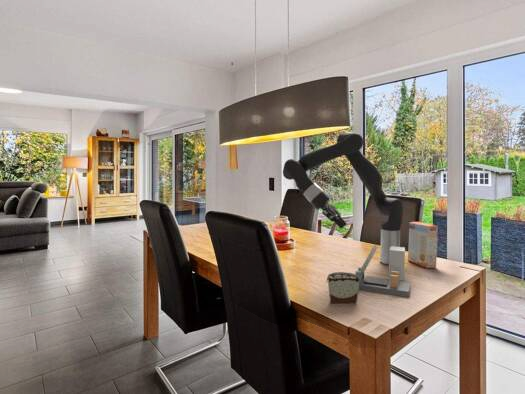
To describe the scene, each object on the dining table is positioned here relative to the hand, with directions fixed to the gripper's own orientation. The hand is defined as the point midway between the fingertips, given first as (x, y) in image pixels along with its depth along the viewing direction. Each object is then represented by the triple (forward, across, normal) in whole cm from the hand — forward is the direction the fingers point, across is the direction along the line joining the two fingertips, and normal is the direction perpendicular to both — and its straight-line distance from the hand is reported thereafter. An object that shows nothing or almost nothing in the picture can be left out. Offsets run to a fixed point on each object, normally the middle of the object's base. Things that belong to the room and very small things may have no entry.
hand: (344, 226), depth 141 cm
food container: (+20, -21, +14) cm, 32 cm away
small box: (+31, +17, +3) cm, 36 cm away
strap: (+19, 0, +9) cm, 21 cm away
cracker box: (+38, +44, -4) cm, 59 cm away
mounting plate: (+26, 0, +8) cm, 27 cm away
